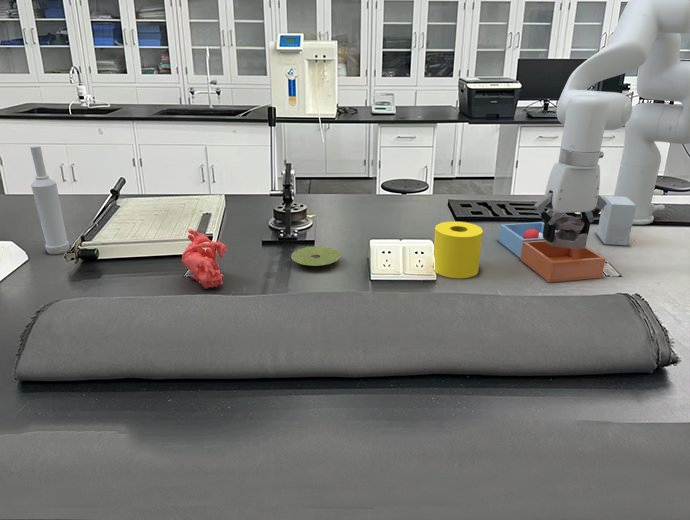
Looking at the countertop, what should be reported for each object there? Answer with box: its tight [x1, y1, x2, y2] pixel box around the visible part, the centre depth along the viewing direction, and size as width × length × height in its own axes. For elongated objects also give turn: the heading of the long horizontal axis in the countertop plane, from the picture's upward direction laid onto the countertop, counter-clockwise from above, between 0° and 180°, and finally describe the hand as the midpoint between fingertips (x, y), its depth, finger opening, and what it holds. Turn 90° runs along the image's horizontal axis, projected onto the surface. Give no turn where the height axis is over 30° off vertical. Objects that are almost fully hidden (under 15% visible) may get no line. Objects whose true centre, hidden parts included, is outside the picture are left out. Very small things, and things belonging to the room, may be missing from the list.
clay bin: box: [520, 240, 607, 283], centre depth 118 cm, size 12×12×4 cm
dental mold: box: [546, 215, 588, 249], centre depth 115 cm, size 8×7×5 cm
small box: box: [596, 195, 636, 246], centre depth 133 cm, size 8×6×10 cm
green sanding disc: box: [290, 246, 341, 267], centre depth 121 cm, size 11×11×2 cm
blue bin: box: [498, 221, 557, 259], centre depth 129 cm, size 11×11×4 cm
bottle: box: [29, 145, 71, 255], centre depth 123 cm, size 5×5×25 cm
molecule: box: [523, 229, 543, 239], centre depth 129 cm, size 5×5×4 cm
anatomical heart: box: [181, 228, 228, 289], centre depth 110 cm, size 9×12×12 cm
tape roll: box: [433, 221, 484, 279], centre depth 116 cm, size 10×10×9 cm
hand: (564, 238), depth 116 cm, fingers closed on dental mold, 7 cm apart
